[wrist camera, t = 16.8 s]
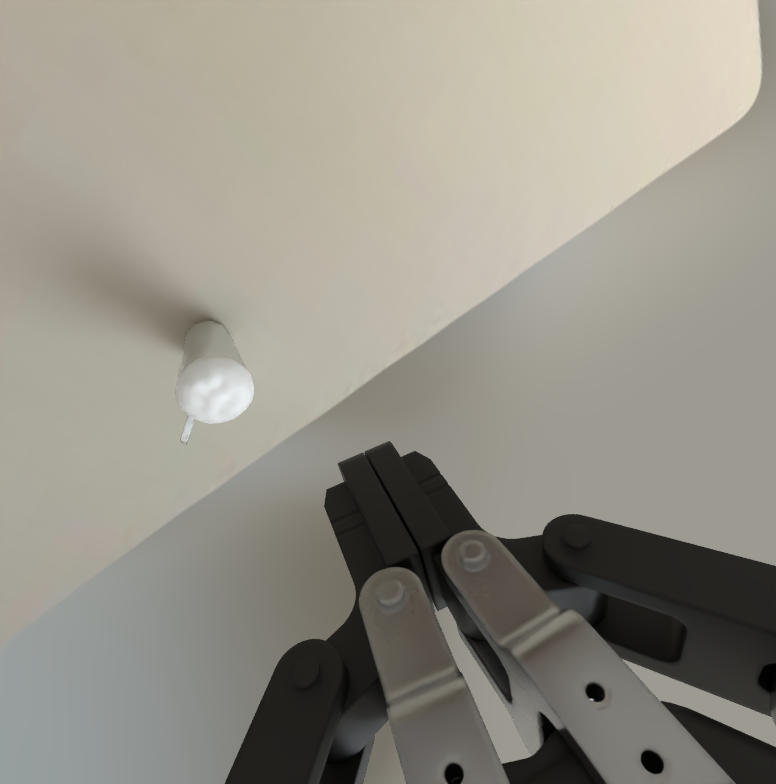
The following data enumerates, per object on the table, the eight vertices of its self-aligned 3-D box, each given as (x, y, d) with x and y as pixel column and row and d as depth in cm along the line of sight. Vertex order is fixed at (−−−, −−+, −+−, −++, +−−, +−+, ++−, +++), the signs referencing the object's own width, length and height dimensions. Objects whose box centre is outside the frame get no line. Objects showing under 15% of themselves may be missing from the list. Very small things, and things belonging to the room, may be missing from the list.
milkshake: (154, 351, 36) (147, 423, 28) (203, 298, 35) (211, 356, 27) (206, 386, 38) (214, 461, 30) (253, 337, 38) (273, 399, 30)
